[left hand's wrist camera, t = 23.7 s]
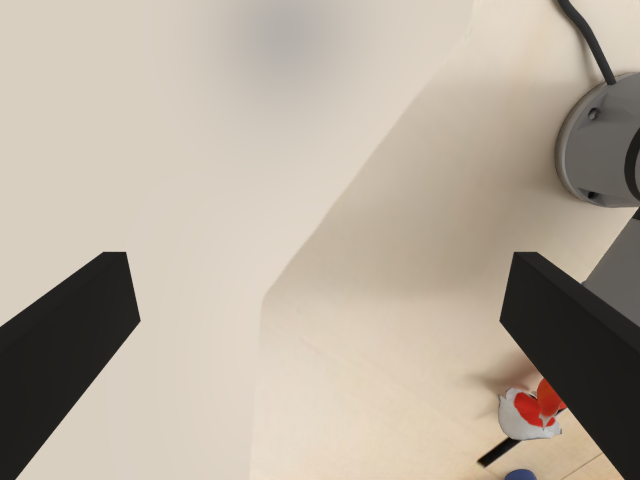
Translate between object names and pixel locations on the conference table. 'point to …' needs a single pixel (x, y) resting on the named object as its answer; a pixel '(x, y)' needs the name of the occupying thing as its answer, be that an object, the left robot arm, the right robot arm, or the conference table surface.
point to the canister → (521, 475)
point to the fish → (530, 413)
